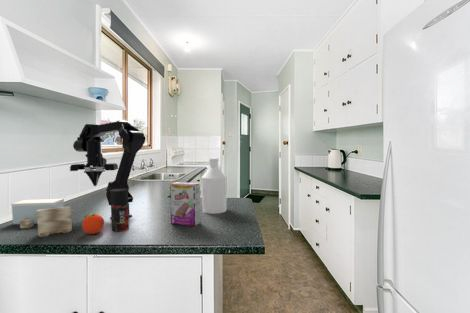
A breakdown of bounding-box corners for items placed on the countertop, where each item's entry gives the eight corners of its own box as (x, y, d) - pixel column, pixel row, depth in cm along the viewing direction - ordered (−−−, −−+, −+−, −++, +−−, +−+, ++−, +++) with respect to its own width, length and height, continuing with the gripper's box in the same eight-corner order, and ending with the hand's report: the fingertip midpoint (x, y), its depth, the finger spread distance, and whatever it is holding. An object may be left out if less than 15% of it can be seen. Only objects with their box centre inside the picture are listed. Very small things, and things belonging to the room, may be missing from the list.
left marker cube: (33, 225, 101) (33, 218, 100) (28, 227, 98) (28, 220, 97) (25, 225, 100) (25, 218, 100) (20, 228, 97) (19, 220, 97)
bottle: (214, 215, 112) (213, 159, 111) (196, 210, 120) (195, 158, 119) (232, 209, 121) (231, 158, 120) (214, 206, 129) (213, 157, 128)
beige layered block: (71, 227, 97) (70, 204, 97) (72, 231, 93) (71, 207, 93) (38, 233, 91) (37, 209, 91) (38, 237, 87) (36, 212, 87)
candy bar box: (170, 224, 101) (169, 183, 100) (176, 220, 105) (176, 181, 104) (195, 227, 97) (194, 184, 96) (201, 223, 102) (200, 182, 101)
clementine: (75, 235, 90) (74, 215, 89) (92, 228, 96) (92, 210, 96) (92, 237, 87) (91, 217, 86) (108, 231, 93) (108, 212, 93)
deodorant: (118, 233, 91) (116, 191, 90) (108, 230, 94) (107, 190, 94) (132, 228, 96) (131, 189, 95) (122, 225, 99) (121, 187, 99)
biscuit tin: (64, 218, 111) (63, 198, 110) (54, 223, 104) (53, 202, 103) (25, 219, 110) (24, 199, 109) (12, 224, 102) (11, 203, 102)
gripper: (121, 151, 124) (122, 182, 125) (81, 151, 122) (82, 183, 123) (112, 152, 113) (113, 186, 114) (68, 152, 111) (70, 187, 112)
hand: (95, 185), depth 116 cm, fingers closed
